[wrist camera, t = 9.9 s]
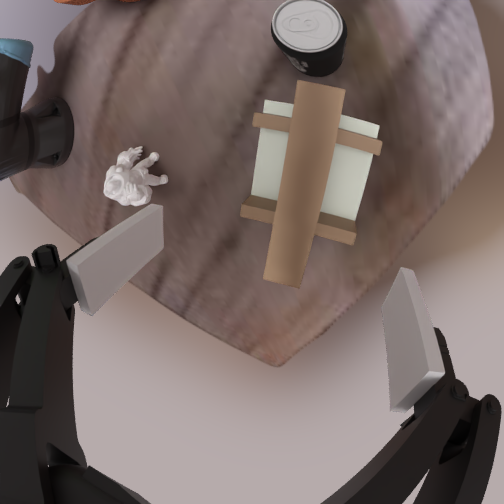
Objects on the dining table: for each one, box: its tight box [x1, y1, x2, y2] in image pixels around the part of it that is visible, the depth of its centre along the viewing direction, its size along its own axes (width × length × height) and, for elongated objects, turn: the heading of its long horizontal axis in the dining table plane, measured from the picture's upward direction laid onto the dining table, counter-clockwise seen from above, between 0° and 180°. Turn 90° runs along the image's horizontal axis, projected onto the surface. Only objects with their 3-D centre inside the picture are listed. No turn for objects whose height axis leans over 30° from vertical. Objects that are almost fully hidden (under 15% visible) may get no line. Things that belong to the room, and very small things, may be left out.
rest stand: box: [240, 100, 382, 245], centre depth 31 cm, size 14×16×5 cm
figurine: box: [103, 146, 168, 206], centre depth 34 cm, size 10×5×12 cm, turn 64°
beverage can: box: [271, 0, 347, 76], centre depth 20 cm, size 7×7×12 cm
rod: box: [263, 80, 345, 288], centre depth 26 cm, size 4×20×6 cm, turn 172°
